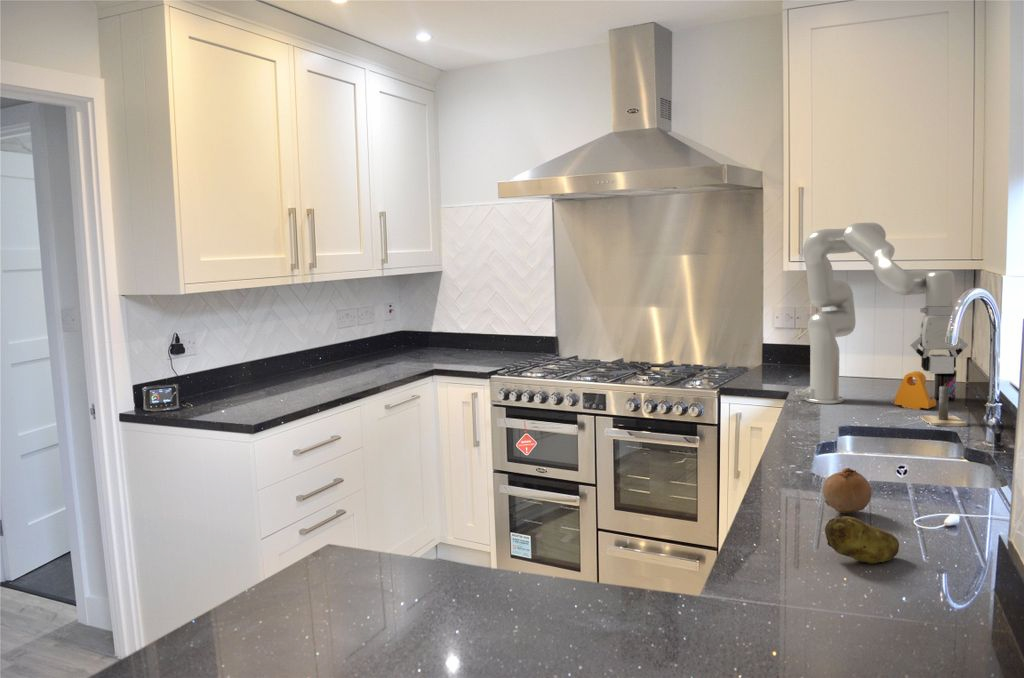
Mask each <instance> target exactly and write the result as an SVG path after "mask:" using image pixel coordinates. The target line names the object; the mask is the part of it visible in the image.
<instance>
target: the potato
mask: <svg viewBox="0 0 1024 678" xmlns="http://www.w3.org/2000/svg"><path fill="white" fill-rule="evenodd" d="M824 534H825V538H826V540H827V542H826V544H827V545H828V547H831V548H832V549H833V550H834V551H835V552H836V553H837V554H839V555H841V556H846V557H849V558H852V559H854V560H855V561H857V560H858V561H857V562H860V561H862V562H861V563H863V562H869V563H868V564H877V563H876V562H882V563H885V561H886V562H888V561H891V560H892V559H893V558H895V557H896V556H897V555H898V553H899V551H900V549H899V548H900V542H899V540H898V538H897V537H896V536H895V535H893V534H892V533H890V532H888V531H886V530H884V529H880V528H877V527H875V526H872V525H870V524H868V523H866V522H864V521H862V520H861V519H858V518H856V517H852V516H847V515H846V516H844V515H842V516H837V517H834V518H831V519H829V520H828V522H827V523H826V524H825V528H824Z"/></svg>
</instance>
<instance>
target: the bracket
mask: <svg viewBox="0 0 1024 678" xmlns="http://www.w3.org/2000/svg"><path fill="white" fill-rule="evenodd" d="M914 379H916V380H915V381H916V382H914ZM926 381H927V379H926V375H925V374H924V373H923V372H921V371H917V370H916V371H912V372H909V373H906V374H905V375H904V377H903V379H902V381H901V383H900V385H899V388H898V390H897V393H896V394H895V397H894V403H893V404H894V405H898V406H902V407H909V408H914V409H913V410H917V409H921V410H923V409H931V408H934V407H936V405H937V400H936V399H934V398H930V396H929V392H928V390H927V387H926ZM909 408H908V409H909ZM922 408H923V409H922Z"/></svg>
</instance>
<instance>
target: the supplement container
mask: <svg viewBox="0 0 1024 678" xmlns="http://www.w3.org/2000/svg"><path fill="white" fill-rule="evenodd" d="M957 373H958V372H957V370H956V369H954V373H940V374H934V378H933V379H934V381H933V383H934V384H933V385H934V386H933V388H934V389H933V399H936V401H938V402H939V387H940V386H946V387H949V397H948V402H955V400H956V399H957V377H958V376H957V375H958V374H957Z"/></svg>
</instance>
